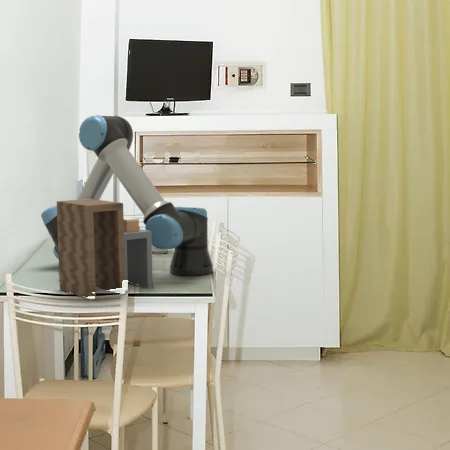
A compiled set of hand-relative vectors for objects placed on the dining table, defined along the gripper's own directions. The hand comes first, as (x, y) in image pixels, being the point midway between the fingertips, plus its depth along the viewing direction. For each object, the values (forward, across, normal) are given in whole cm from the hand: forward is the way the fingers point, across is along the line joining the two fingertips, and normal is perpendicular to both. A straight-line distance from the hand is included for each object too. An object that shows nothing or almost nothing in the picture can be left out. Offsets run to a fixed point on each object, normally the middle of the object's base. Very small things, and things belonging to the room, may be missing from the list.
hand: (104, 209), depth 251 cm
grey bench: (-2, 0, -26) cm, 26 cm away
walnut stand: (0, +13, -28) cm, 30 cm away
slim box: (+1, 0, -7) cm, 8 cm away
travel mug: (-43, -46, -3) cm, 62 cm away
